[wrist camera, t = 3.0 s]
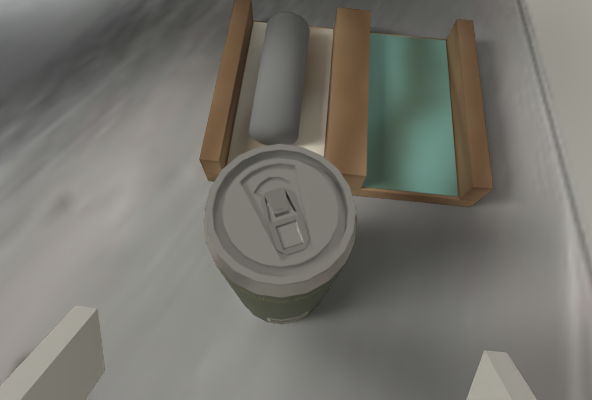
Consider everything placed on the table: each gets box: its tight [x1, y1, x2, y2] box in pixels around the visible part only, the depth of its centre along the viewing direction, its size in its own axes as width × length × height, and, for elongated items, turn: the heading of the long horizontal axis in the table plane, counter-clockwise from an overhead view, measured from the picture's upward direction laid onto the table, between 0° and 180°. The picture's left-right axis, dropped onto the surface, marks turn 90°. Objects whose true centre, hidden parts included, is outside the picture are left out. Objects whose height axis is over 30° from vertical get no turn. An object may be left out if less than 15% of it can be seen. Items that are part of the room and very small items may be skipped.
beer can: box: [204, 144, 357, 324], centre depth 18 cm, size 5×5×12 cm
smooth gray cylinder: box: [249, 12, 310, 146], centre depth 26 cm, size 9×3×3 cm, turn 175°
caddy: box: [199, 0, 493, 207], centre depth 27 cm, size 18×14×3 cm
